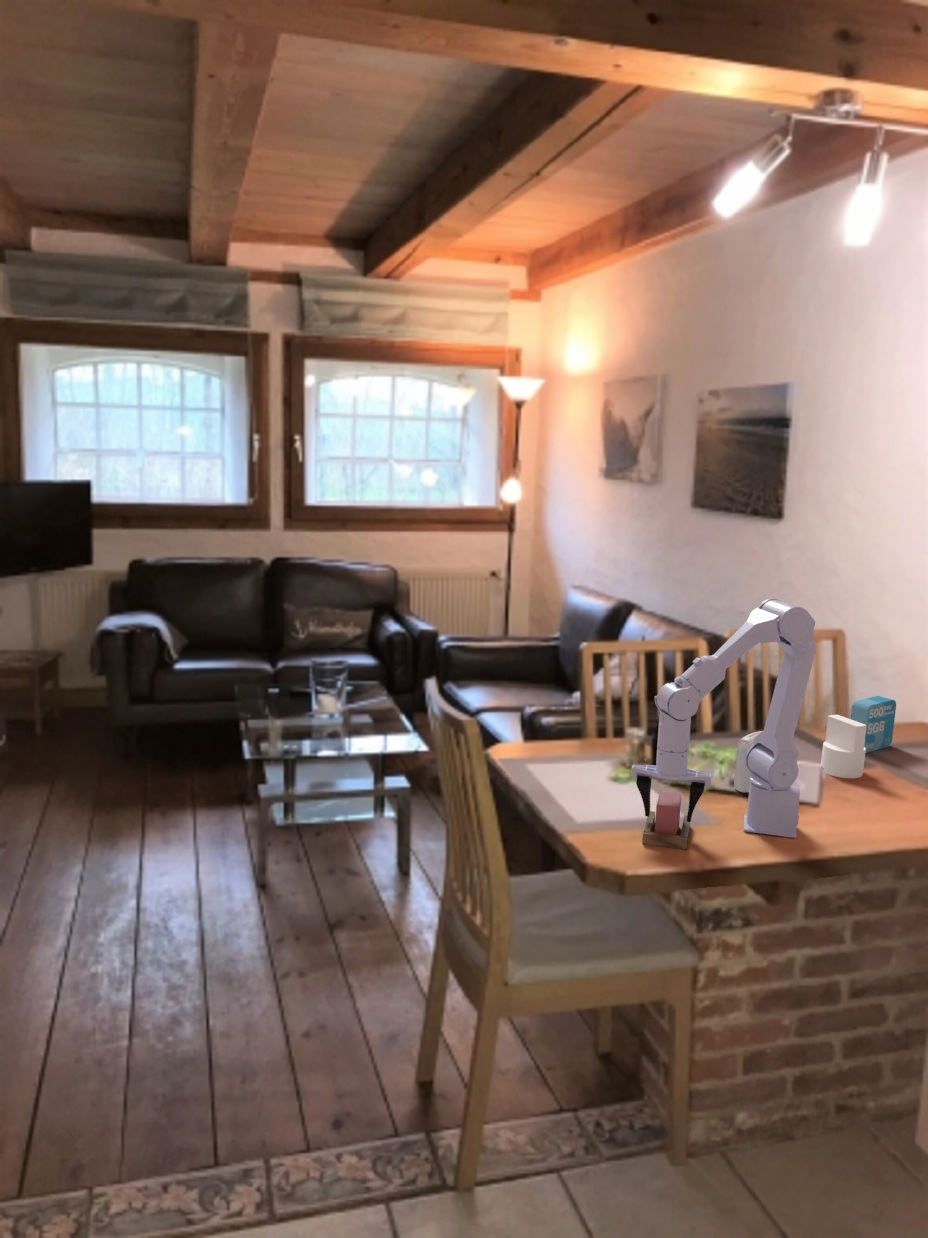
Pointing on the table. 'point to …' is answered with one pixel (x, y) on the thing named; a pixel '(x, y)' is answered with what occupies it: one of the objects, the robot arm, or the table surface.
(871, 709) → the data package
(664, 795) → the dull red block
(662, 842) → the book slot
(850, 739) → the cylinder with rectangular tab
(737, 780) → the photo printer
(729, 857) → the table surface
